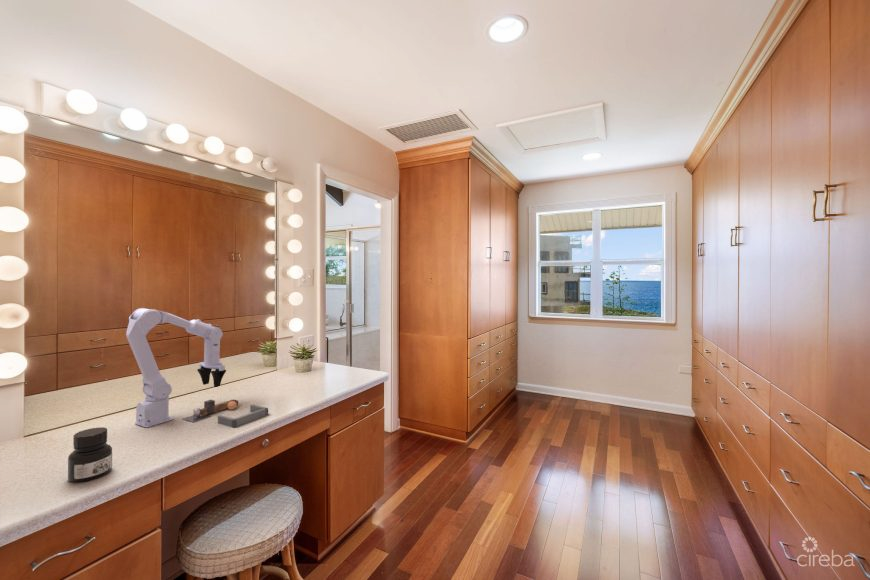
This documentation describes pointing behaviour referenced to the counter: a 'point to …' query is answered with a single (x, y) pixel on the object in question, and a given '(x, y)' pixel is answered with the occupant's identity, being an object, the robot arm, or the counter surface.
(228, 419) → the tray
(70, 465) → the ink bottle
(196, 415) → the pivot base
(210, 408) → the lever
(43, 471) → the counter surface
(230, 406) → the ball
